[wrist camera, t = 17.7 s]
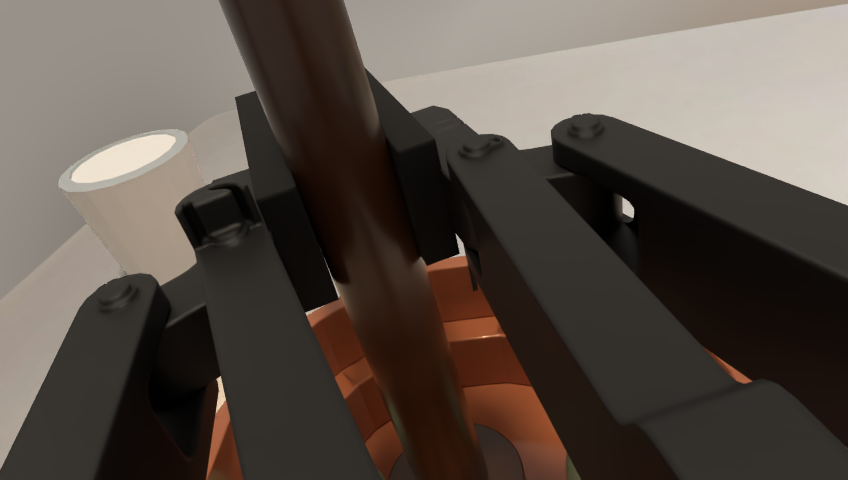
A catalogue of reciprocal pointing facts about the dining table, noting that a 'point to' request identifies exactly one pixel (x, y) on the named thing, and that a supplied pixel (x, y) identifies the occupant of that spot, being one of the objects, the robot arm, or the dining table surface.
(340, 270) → the stick
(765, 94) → the dining table surface
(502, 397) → the bowl
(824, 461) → the robot arm
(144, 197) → the white cup
